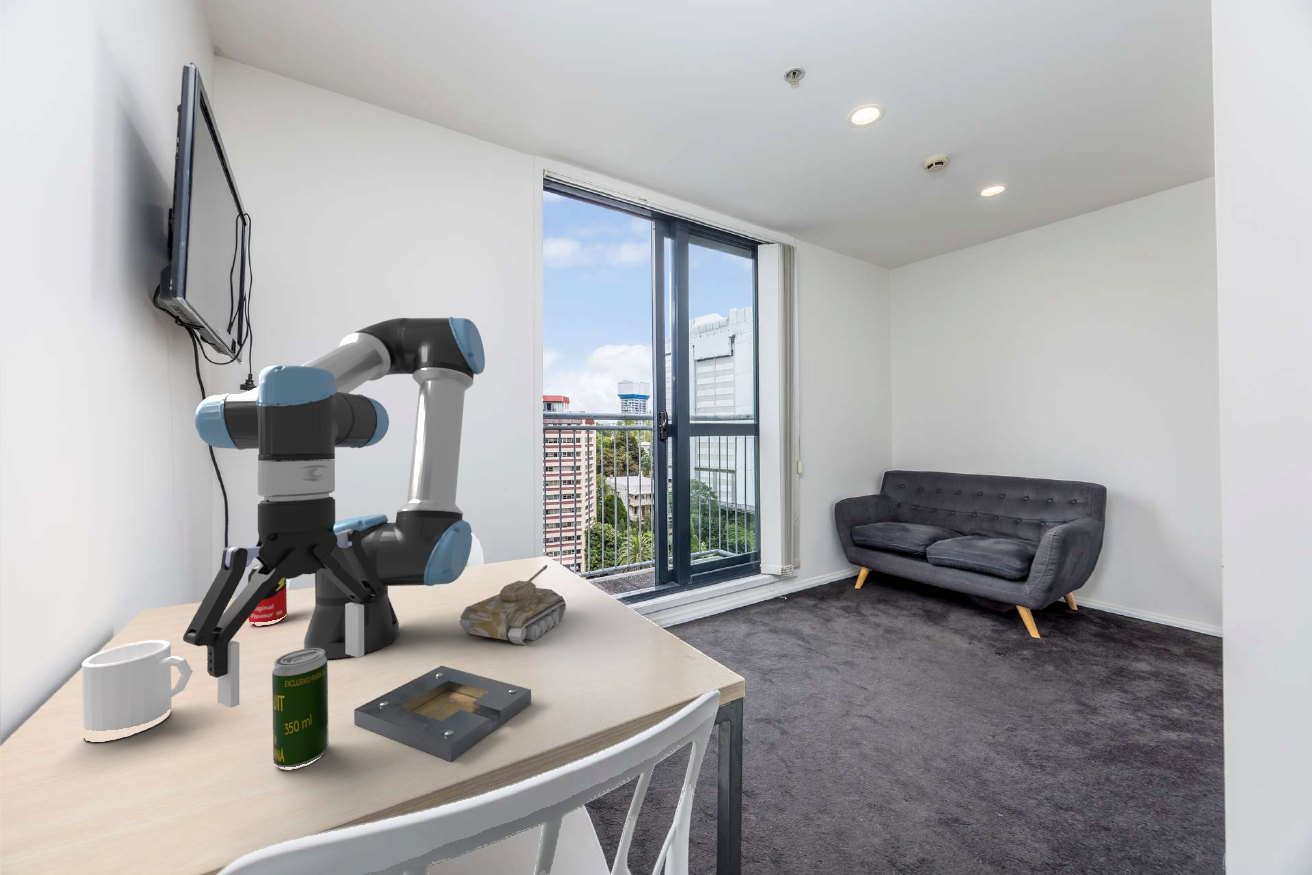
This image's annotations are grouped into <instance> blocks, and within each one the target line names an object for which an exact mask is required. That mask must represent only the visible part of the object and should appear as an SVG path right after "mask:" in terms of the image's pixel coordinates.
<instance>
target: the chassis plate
mask: <svg viewBox="0 0 1312 875" xmlns="http://www.w3.org/2000/svg"><path fill="white" fill-rule="evenodd" d="M530 705H532V689H529V688H527V687H523V686H519V685H515V684H512V683H508V682H505V681H501V680H497V679H492V678H490V677H485V676H482V675H477V674H474V673H470V672H468V671H467V672H466V671H463V670H459V669H456V668H452V667H449V666H444V665H440V666H438V667H436V668H433V669H432V670H429V671H427V672H426V673H424V674H422V675H420V676H418V677H416V678H414V679H411V680H409V681H408V682H405V683H404V684H402V685H400V686H398V687H396V688H394V689H391V690H390V691H387V692H386V693H383V695H380V696H378V697H376V698H374V699H373V700H370V701H368V702H366V703H364V704H362V705H360V706H358V707H356V708H355V709H353V716H354V717H353V718H354V720H353V722H354V723H353V724H355V725H354V726H357V727H359V728H362V729H365V730H368V731H370V732H373V733H375V734H378V735H381V736H383V737H386V738H388V739H390V740H394V741H396V742H398V743H401V744H404V745H406V746H408V747H412V748H414V749H416V750H420V751H421V752H424V753H426V754H429V755H432V756H435V757H437V758H440V759H442V760H445V761H447V762H450V763H452V762H453V761H455V760H456V759H457V758H459V757H460V756H461V755H463V754H464V753H466V752H467V751H468V750H470V748H472V747H474V746H475V745H477V744H478V743H480V742H481V741H482V740H483V739H485V738H486V737H488V736H489V735H490V734H492V733H493V732H494V731H496V730H497V729H499V728H500V727H501V726H503V725H504V724H505V723H507V722H508V721H510V720H511V719H512V718H513V717H515V716H517V715H518V714H519V713H520V712H522V711H523V710H525V709H526V708H527V707H529V706H530Z"/></svg>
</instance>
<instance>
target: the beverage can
mask: <svg viewBox="0 0 1312 875" xmlns="http://www.w3.org/2000/svg"><path fill="white" fill-rule="evenodd" d="M260 565H261V563H258V564H255V565H252V566H251V571H250V572H249V574H248V576H247V584H248V583H249V582H250V581H251V577H252V575H253V574H254V573H255V571H256V570H257V569H258V568H259V567H260ZM287 600H288V599H287V579H285V578H282V579H281V580H280V582H279V583H278V584H277V585H276V586H274V587H272V588H271V589H270V591H269V592H268V593H267V595H266V596H265V597H264V598H263V600H262V601H261V602H260V604H259V605H258V606H257V607H256V609H255V610H254V611H253V612H252V614H251V615H250V616H249V618H248V622H249V623H250V622H254V623H255V622H268V621H272V620H277V619H280V618H282V617H284V616H285V615H286V614H287V611H288V610H287V609H288V605H287V603H288V602H287ZM286 616H287V615H286ZM286 616H285V617H286ZM285 617H284V618H285Z"/></svg>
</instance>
